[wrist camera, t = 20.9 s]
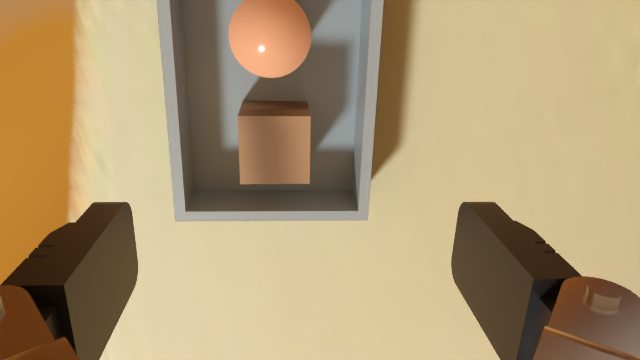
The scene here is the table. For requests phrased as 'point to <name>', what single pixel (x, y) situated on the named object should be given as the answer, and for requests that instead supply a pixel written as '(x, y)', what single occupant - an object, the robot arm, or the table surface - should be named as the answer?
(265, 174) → the cube
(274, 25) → the orange round part
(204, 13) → the tote
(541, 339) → the robot arm
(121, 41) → the table surface
